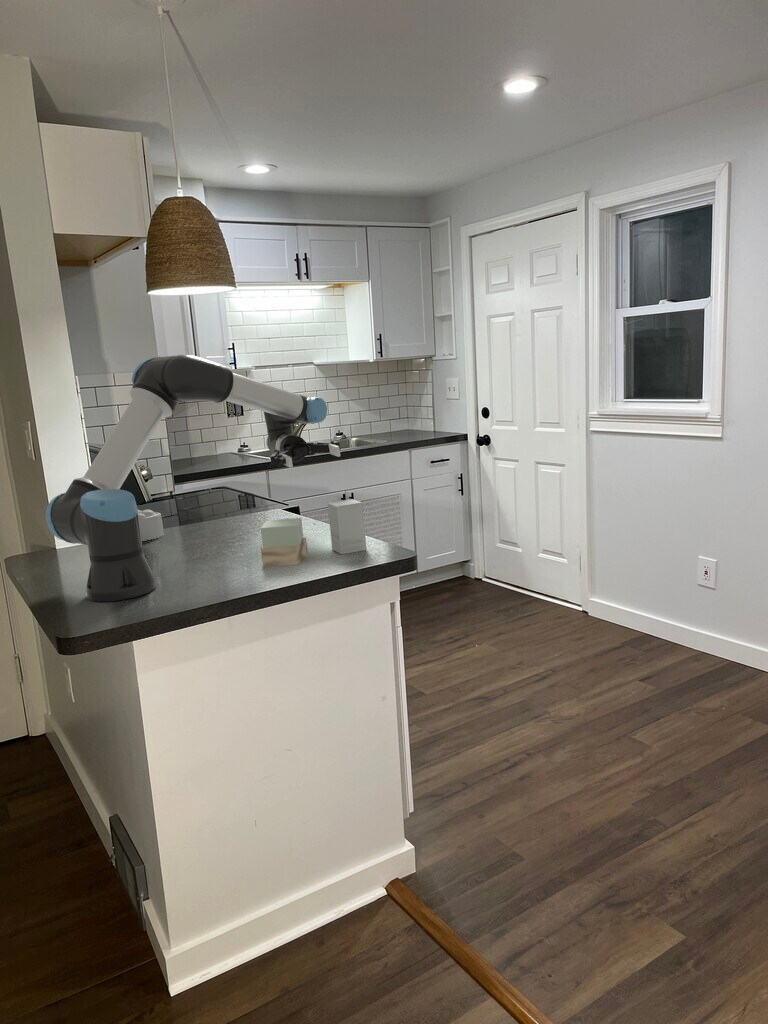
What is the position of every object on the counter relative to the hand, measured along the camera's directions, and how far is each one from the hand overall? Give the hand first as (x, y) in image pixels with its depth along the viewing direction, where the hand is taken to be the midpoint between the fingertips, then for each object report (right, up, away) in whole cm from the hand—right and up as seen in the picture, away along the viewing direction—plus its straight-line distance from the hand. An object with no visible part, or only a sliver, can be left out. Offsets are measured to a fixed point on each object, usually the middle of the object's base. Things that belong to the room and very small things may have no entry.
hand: (315, 457), depth 203 cm
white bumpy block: (-56, -23, +31) cm, 68 cm away
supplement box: (+9, -25, -5) cm, 27 cm away
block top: (-7, -22, -11) cm, 26 cm away
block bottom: (-6, -27, -10) cm, 30 cm away
